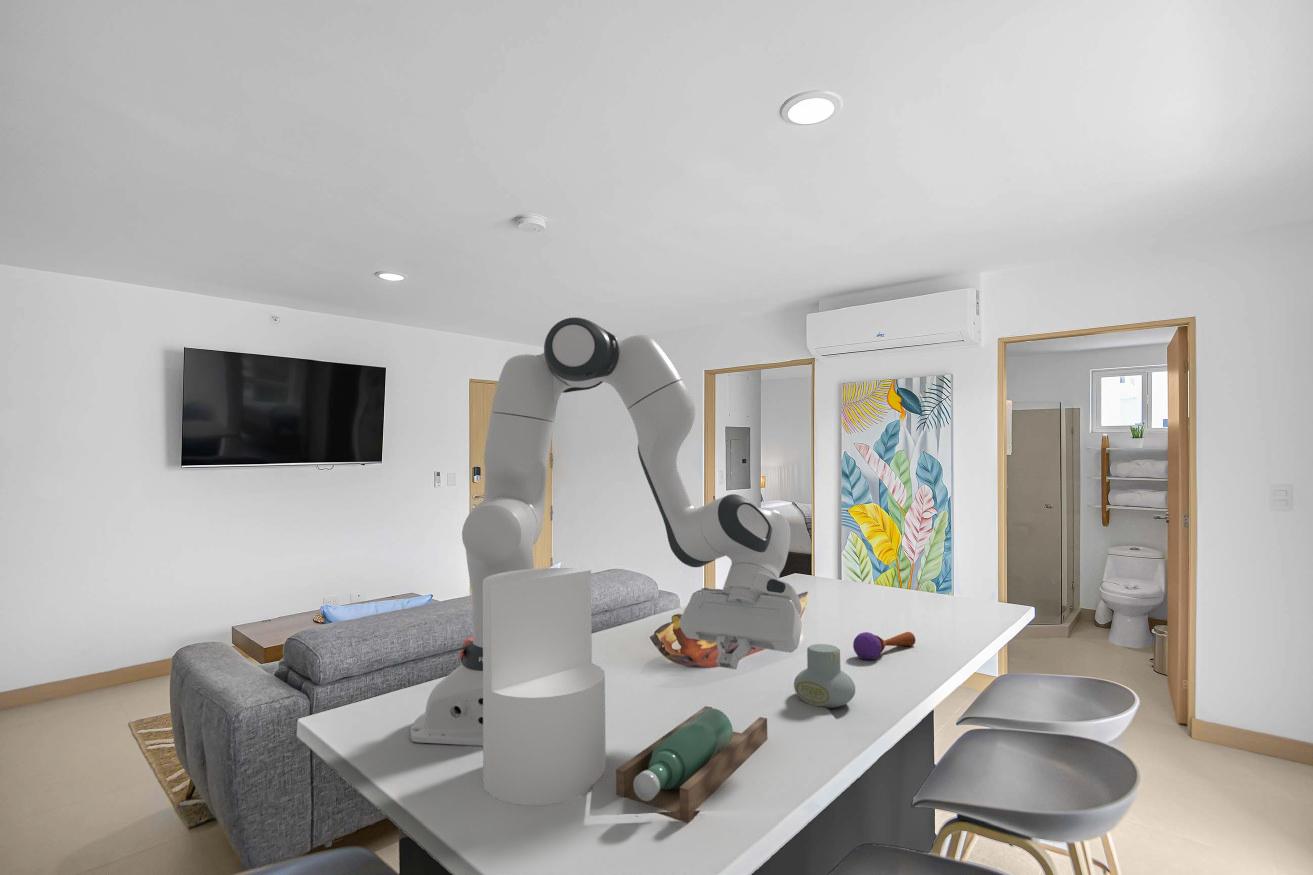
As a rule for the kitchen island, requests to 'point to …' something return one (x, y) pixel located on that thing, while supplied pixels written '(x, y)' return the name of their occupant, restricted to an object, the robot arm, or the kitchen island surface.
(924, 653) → the kitchen island surface
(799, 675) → the air freshener
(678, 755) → the bottle
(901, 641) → the purple maraca
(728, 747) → the u rest
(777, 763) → the kitchen island surface
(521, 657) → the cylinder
